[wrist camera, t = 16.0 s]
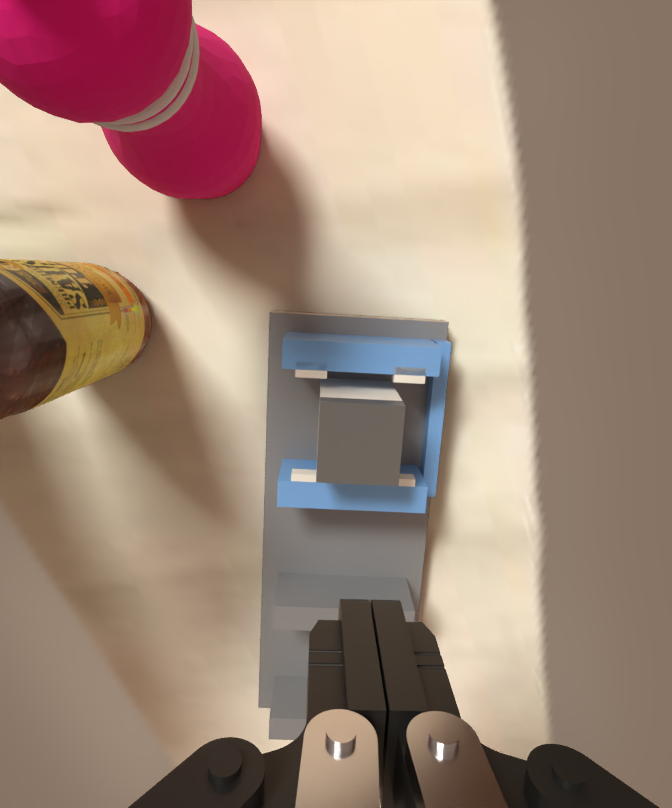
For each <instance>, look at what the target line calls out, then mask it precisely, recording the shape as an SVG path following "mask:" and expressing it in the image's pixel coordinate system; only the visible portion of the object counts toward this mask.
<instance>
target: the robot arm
mask: <svg viewBox="0 0 672 808" xmlns="http://www.w3.org/2000/svg"><path fill="white" fill-rule="evenodd" d="M380 804H381V808H659V807H658V806H656V805H654V804H653V803H652V802H650V801H649V800H648V799H646V798H645V797H643V796H642V795H640V794H639V793H637V792H636V791H635V790H633V789H632V788H631V787H629V786H628V785H626V784H625V783H623V782H622V781H621V780H619V779H618V778H616V777H615V776H613V775H612V774H610V773H609V772H608V771H606V770H605V769H604V768H602V767H601V766H599V765H598V764H596V763H595V762H594V761H592V760H591V759H589V758H588V757H586V756H585V755H583V754H582V753H580V752H578V751H576V750H574V749H572V748H569V747H567V746H563V745H558V744H545V745H541V746H538V747H536V748H535V749H533V750H532V751H531V752H530V754H529V756H528V758H527V761H526V760H522V759H519V758H516V757H512V756H509V755H505V754H502V753H499V752H497V751H494V750H492V749H490V748H488V747H486V746H485V745H483V744H481V743H480V740H479V738H478V736H477V734H476V733H475V731H474V730H473V729H472V727H471V726H470V725H469V724H468V723H466V722H465V721H464V720H462V719H461V717H460V713H459V710H458V707H457V704H456V701H455V698H454V695H453V691H452V688H451V685H450V682H449V679H448V676H447V673H446V669H444V663H443V660H442V657H441V656H440V651H439V648H438V644H437V641H436V638H435V636H434V635H433V634H432V633H431V632H430V630H429V629H428V628H427V627H426V626H425V625H424V624H423V623H422V622H406V620H405V616H404V612H403V608H402V604H401V601H400V600H371V601H369V600H366V599H340V601H339V614H338V620H318V621H317V623H316V624H315V626H314V627H313V629H312V630H311V632H310V633H309V655H308V677H307V707H306V725H305V727H304V729H303V731H302V733H301V734H300V735H299V736H298V737H297V738H296V739H295V740H294V741H293V742H291V743H290V744H289V745H287V746H285V747H283V748H280V749H278V750H275V751H271V752H268V753H264V754H261V752H260V751H259V749H258V748H257V747H256V746H255V745H253V744H252V743H250V742H249V741H246V740H244V739H240V738H233V737H227V738H220V739H216V740H213V741H211V742H209V743H207V744H205V745H203V746H202V747H200V748H199V749H198V750H197V751H195V752H194V753H193V754H192V755H191V756H189V757H188V758H187V759H186V760H185V761H183V762H182V763H181V764H180V765H179V766H177V767H176V768H175V769H174V770H173V771H171V772H170V773H169V774H168V775H167V776H165V777H164V778H163V779H162V780H161V781H160V782H158V783H157V784H156V785H155V786H154V787H152V788H151V789H150V790H149V791H147V792H146V793H145V794H144V795H143V796H141V797H140V798H139V799H138V800H137V801H135V802H134V803H133V804H132V805H131V806H129V807H128V808H380Z"/></svg>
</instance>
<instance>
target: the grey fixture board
mask: <svg viewBox="0 0 672 808" xmlns="http://www.w3.org/2000/svg"><path fill="white" fill-rule="evenodd" d="M448 324H449V322H446V321H444V320H432V319H414V318H396V317H378V316H361V315H343V314H325V313H307V312H289V311H271V312H270V322H269V357H268V392H267V427H266V462H265V497H264V532H263V567H262V602H261V637H260V672H259V707H258V708H271V711H270V720H269V739H283V740H295V739H296V738H297V737H298V736H299V735H300V734H301V733H302V731H303V729H304V727H305V725H306V707H307V677H308V655H309V633H310V632H311V630H312V629H313V627H314V626H315V624H316V623H317V621H318V620H338V614H339V601H340V599H366V600H369V601H371V600H400V601H401V604H402V608H403V612H404V616H405V620H406V622H417V621H418V612H419V602H420V592H421V583H422V573H423V564H424V554H425V544H426V535H427V525H428V516H429V506H430V497H435V494H436V485H437V475H438V466H439V457H440V447H441V438H442V428H443V419H444V410H445V400H446V391H447V381H448V372H449V362H450V353H451V344H452V343H451V342H449V341H447V333H448ZM327 378H340V379H360V380H380V381H391V383H392V384H393V386H394V388H395V389H396V391H397V393H398V394H399V396H400V398H401V399H402V401H403V402H404V404H405V406H406V407H405V418H404V430H403V441H402V453H401V464H400V476H399V486H386V485H363V484H340V483H317V482H316V470H317V444H318V423H319V403H320V382H321V379H327Z"/></svg>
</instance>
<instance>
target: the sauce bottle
mask: <svg viewBox="0 0 672 808" xmlns="http://www.w3.org/2000/svg"><path fill="white" fill-rule="evenodd" d="M150 331H151V316H150V310H149V307H148V305H147V303H146V300H145V299H144V296H143V294H142V293H141V292H140V290H139V289H138V288H137V287H136V286H135V285H134V284H133V283H131V282H130V281H129V280H128V279H126V278H125V277H123V276H122V275H120V274H119V273H118V272H114V271H111V270H109V269H108V268H105V267H102V266H99V265H95V264H89V263H75V262H51V261H35V260H15V259H0V419H2V418H4V417H7V416H9V415H16V414H19V413H23V412H25V411H28V410H30V409H33V408H35V407H37V406H40V405H42V404H45V403H47V402H49V401H52V400H54V399H56V398H59V397H61V396H63V395H65V394H68V393H70V392H72V391H75V390H77V389H80V388H82V387H85V386H87V385H89V384H92V383H94V382H96V381H99V380H101V379H103V378H106V377H108V376H110V375H113V374H115V373H118V372H119V371H121V370H122V369H124V368H125V367H126V366H127V365H128V364H131V363H132V362H133V361H134V360H135V359H137V358H138V357H139V355H140V353H141V352H142V350H143V349H144V347H145V345H146V343H147V342H148V339H149V334H150Z"/></svg>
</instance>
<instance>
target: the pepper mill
mask: <svg viewBox="0 0 672 808" xmlns="http://www.w3.org/2000/svg"><path fill="white" fill-rule="evenodd" d="M0 83H1V84H2V85H4V86H5V87H6V88H7V89H9V90H10V91H11V92H12V93H13V94H15V95H16V96H17V97H19V98H20V99H22V100H24V101H25V102H27V103H29V104H30V105H32V106H33V107H35V108H38V109H40V110H42V111H45V112H47V113H49V114H52V115H54V116H57V117H61V118H64V119H68V120H71V121H75V122H78V123H91V122H92V123H94V124H97V125H99V126H101V127H102V130H103V132H104V135H105V138H106V140H107V142H108V144H109V146H110V148H111V150H112V152H113V153H114V154H115V156H116V157H117V159H118V160H119V162H120V163H121V164H122V165H123V166H124V167H125V168H126V169H127V170H128V171H129V172H130V173H131V174H132V175H133V176H134V177H136V178H137V179H138V180H139V181H141V182H142V183H144V184H145V185H147V186H148V187H150V188H151V189H153V190H155V191H157V192H160V193H162V194H164V195H167V196H171V197H175V198H183V199H197V198H200V199H212V198H218V197H221V196H225V195H227V194H229V193H231V192H233V191H234V190H236V189H237V188H239V187H240V186H241V185H242V184H243V183H244V182H245V181H246V180H247V178H248V177H249V176H250V174H251V173H252V171H253V169H254V167H255V165H256V163H257V160H258V156H259V152H260V143H261V137H260V134H261V124H262V114H261V106H260V100H259V96H258V93H257V89H256V87H255V84H254V82H253V80H252V77H251V75H250V74H249V72H248V71H247V69H246V67H245V66H244V64H243V63H242V61H241V59H240V58H239V56H238V55H237V54H236V53H235V52H234V51H233V49H232V48H231V47H230V46H229V45H228V44H227V43H226V42H225V41H223V40H222V39H221V38H220V37H218V36H217V35H216V34H214V33H213V32H211V31H209V30H207V29H205V28H203V27H201V26H199V25H197V24H195V22H194V19H193V16H192V0H0Z"/></svg>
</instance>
